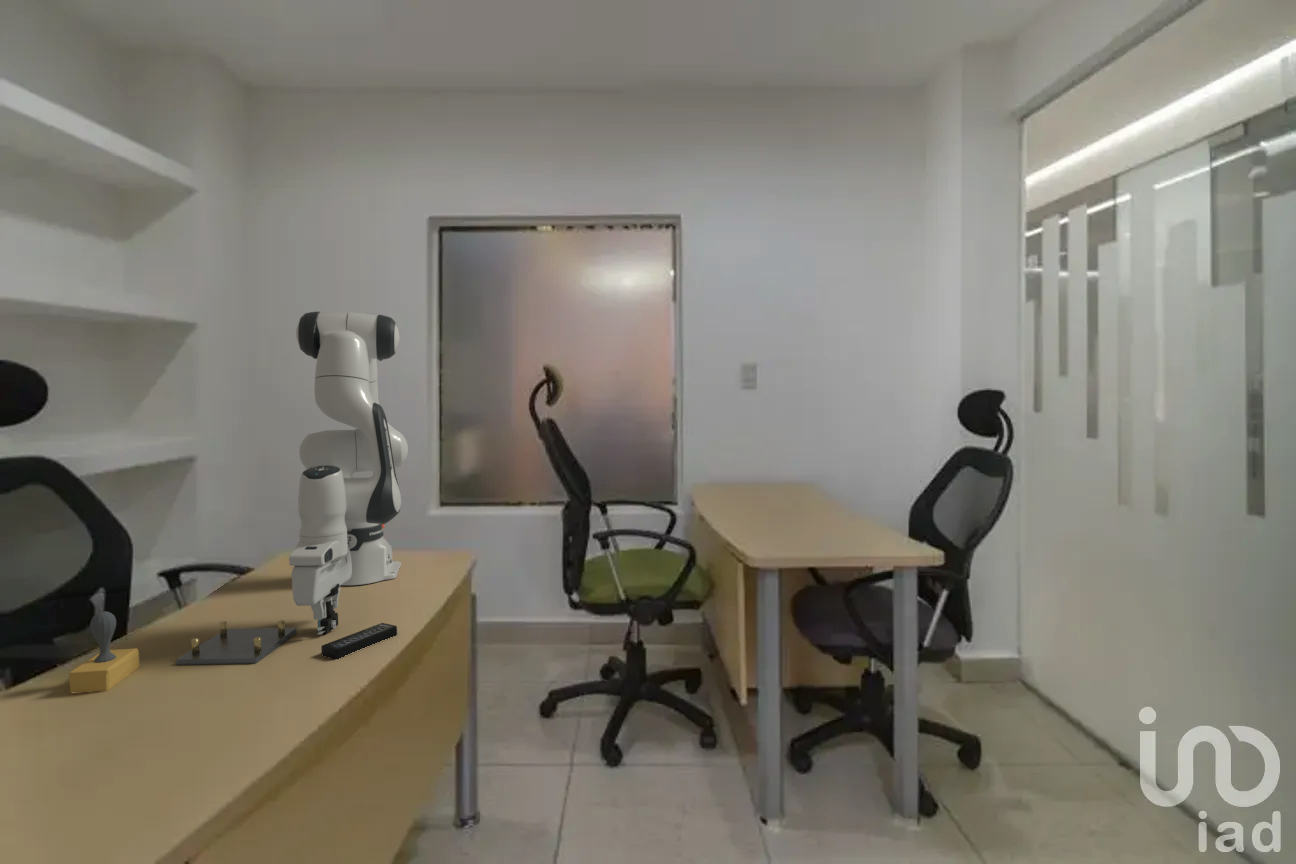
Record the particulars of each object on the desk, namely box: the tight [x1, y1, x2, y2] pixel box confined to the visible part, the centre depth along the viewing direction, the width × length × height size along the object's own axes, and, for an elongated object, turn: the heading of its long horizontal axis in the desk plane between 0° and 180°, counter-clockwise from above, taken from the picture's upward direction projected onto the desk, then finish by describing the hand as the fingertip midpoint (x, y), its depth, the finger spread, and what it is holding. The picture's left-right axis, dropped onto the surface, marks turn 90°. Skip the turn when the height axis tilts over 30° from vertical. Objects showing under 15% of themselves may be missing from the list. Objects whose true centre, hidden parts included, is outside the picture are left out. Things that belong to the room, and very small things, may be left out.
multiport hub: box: [320, 622, 398, 660], centre depth 135 cm, size 4×14×2 cm, turn 153°
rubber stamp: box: [68, 610, 140, 694], centre depth 118 cm, size 10×6×12 cm, turn 11°
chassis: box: [175, 619, 298, 666], centre depth 133 cm, size 16×14×4 cm
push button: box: [316, 584, 341, 635], centre depth 141 cm, size 7×5×10 cm
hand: (326, 613), depth 142 cm, fingers closed on push button, 5 cm apart
